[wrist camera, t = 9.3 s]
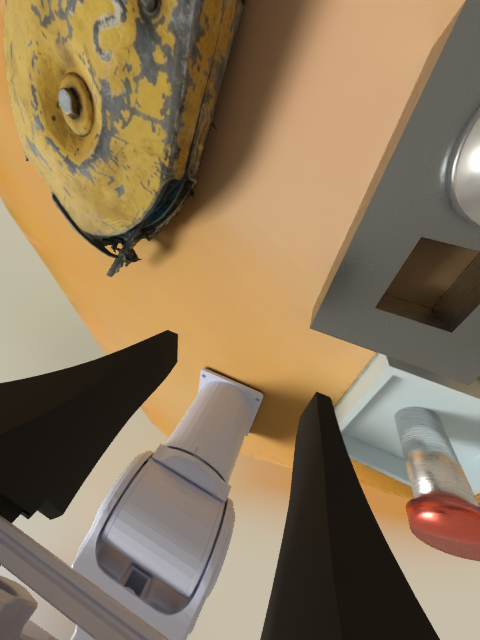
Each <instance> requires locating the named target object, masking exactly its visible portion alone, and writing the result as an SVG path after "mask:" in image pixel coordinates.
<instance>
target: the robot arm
mask: <svg viewBox="0 0 480 640" xmlns="http://www.w3.org/2000/svg"><path fill="white" fill-rule="evenodd" d="M177 350H178V334H176V333H174V332H171V331H169V330H167V331H164V332H162V333H160V334H157V335H155V336H153V337H151V338H148V339H146V340H144V341H141V342H139V343H137V344H134V345H132V346H130V347H127V348H125V349H122V350H120V351H117V352H115V353H112V354H109V355H107V356H104V357H102V358H99V359H96V360H93V361H90V362H87V363H83V364H80V365H77V366H74V367H70V368H67V369H63V370H59V371H55V372H51V373H47V374H43V375H39V376H35V377H30V378H26V379H21V380H15V381H11V382H5V383H0V566H1V565H2V566H3V567H4V568H6V569H7V570H8V571H10V572H11V573H12V574H13V575H15V576H16V577H17V578H18V579H20V580H21V581H22V582H24V583H25V584H26V585H27V586H29V587H30V588H31V589H32V590H33V591H35V592H36V593H37V594H38V595H40V596H41V597H42V598H43V599H45V600H46V601H47V602H49V603H50V604H51V605H52V606H54V607H55V608H56V609H57V610H59V611H60V612H61V613H62V614H64V615H65V616H66V617H68V618H69V619H70V620H71V621H73V622H74V623H75V624H76V628H75V632H74V634H73V635H72V637H71V639H70V640H186V638H187V636H188V634H190V633H191V632H192V630H193V628H194V626H195V623H196V621H197V618H198V616H199V613H200V611H201V609H202V606H203V604H204V602H205V600H206V599H207V597H208V596H209V595H210V593H211V591H212V589H213V587H214V585H215V583H216V581H217V578H218V576H219V573H220V571H221V568H222V565H223V562H224V560H225V557H226V553H227V550H228V547H229V544H230V540H231V536H232V532H233V527H234V521H235V512H234V508H233V502H232V500H230V499H229V498H227V497H228V494H229V491H230V488H231V486H230V485H228V482H229V479H230V476H231V473H232V471H233V468H234V465H235V462H236V459H237V457H238V454H239V451H240V448H241V446H242V443H243V440H244V437H245V436H247V435H248V433H249V431H250V428H251V426H252V423H253V421H254V418H255V416H256V414H257V411H258V409H259V406H260V404H261V402H262V399H263V394H262V393H261V392H259V391H256V390H254V389H252V388H249V387H247V386H245V385H243V384H240V383H238V382H236V381H233V380H231V379H229V378H227V377H224V376H222V375H220V374H217V373H215V372H213V371H211V370H208V369H206V368H203V369H202V370H201V374H200V383H199V392H198V395H197V396H196V398H195V399H194V401H193V402H192V404H191V405H190V407H189V408H188V410H187V411H186V413H185V414H184V416H183V417H182V419H181V420H180V422H179V423H178V425H177V426H176V428H175V430H174V431H173V433H172V434H171V436H170V437H169V439H168V440H167V442H166V443H165V445H162V444H160V445H159V447H158V448H157V450H156V451H155V453H154V452H152V451H147V452H145V453H143V454H140V455H138V456H137V457H136V458H135V459H134V460H133V461H132V462H131V463H130V464H129V465H128V466H127V467H126V469H125V470H124V471H123V472H122V474H121V475H120V476H119V478H118V479H117V481H116V482H115V483H114V485H113V486H112V488H111V489H110V491H109V492H108V494H107V496H106V497H105V499H104V500H103V502H102V504H101V506H100V507H99V509H98V511H97V514H96V516H95V518H94V522H93V524H92V526H91V528H90V530H89V532H88V533H87V535H86V537H85V539H84V540H83V542H82V544H81V546H80V547H79V549H78V551H77V557H76V559H75V560H74V562H73V563H72V567H70V566H69V565H67V564H66V563H64V562H63V561H62V560H61V559H59V558H58V557H56V556H55V555H54V554H52V553H51V552H50V551H48V550H47V549H45V548H44V547H43V546H41V545H40V544H39V543H37V542H36V541H34V540H33V539H32V538H31V537H29V536H28V535H26V534H25V533H24V532H22V531H21V530H20V529H18V528H17V527H16V526H14V525H13V524H11V523H12V522H13V521H14V520H15V519H16V518H17V517H18V516H19V515H20V514H21V515H23V516H24V517H26V518H27V519H29V518H30V517H31V516H32V515H33V514H34V513H35V512H36V511H39V512H40V513H42V514H43V515H45V516H46V517H47V518H49V519H50V520H51V519H54V518H57V517H59V516H61V515H63V514H64V512H65V510H66V509H67V507H68V506H69V504H70V503H71V501H72V499H73V498H74V496H75V494H76V493H77V492H78V490H79V489H80V487H81V486H82V484H83V482H84V481H85V479H86V478H87V477H88V475H89V474H90V472H91V471H92V469H93V468H94V466H95V465H96V463H97V462H98V460H99V459H100V458H101V456H102V455H103V453H104V452H105V451H106V449H107V448H108V447H109V445H110V444H111V442H112V441H113V439H114V438H115V437H116V436H117V434H118V433H119V431H120V430H121V429H122V428H123V426H124V425H125V424H126V422H127V421H128V420H129V419H130V417H131V416H132V415H133V414H134V413H135V412H136V410H137V409H138V408H139V407H140V406H141V405H142V404H143V403H144V402H145V401H146V400H147V398H148V397H149V396H150V395H151V394H152V393H153V392H154V391H155V390H156V389H157V387H158V386H159V385H160V384H161V383H162V382H163V381H164V380H165V378H166V377H167V376H168V374H169V373H170V372H171V370H172V369H173V367H174V366H175V364H176V363H177ZM37 604H38V603H37V602H36V600H35V599H34V598H33V597H32V595H31V594H30V593H29V592H28V591H27V590H26V589H25V588H24V587H23V586H21V585H20V584H18V583H17V582H14V581H12V580H10V579H7V578H5V577H2V576H0V640H58V639H56V638H55V637H53V636H52V635H50V634H49V633H48V632H46V631H45V630H43V629H42V628H40V627H39V626H37V625H36V624H35V623H33V622H32V621H30V620H29V618H30V617H31V615H32V614H33V613H34V611H35V610H36V608H37ZM260 640H440V639H439V637H438V635H437V634H436V632H435V630H434V629H433V627H432V625H431V623H430V622H429V620H428V618H427V616H426V614H425V613H424V611H423V609H422V607H421V606H420V604H419V602H418V600H417V599H416V597H415V595H414V593H413V591H412V589H411V587H410V586H409V584H408V582H407V580H406V578H405V576H404V574H403V572H402V570H401V569H400V567H399V565H398V563H397V561H396V559H395V557H394V555H393V554H392V552H391V550H390V548H389V546H388V544H387V542H386V540H385V538H384V536H383V534H382V532H381V530H380V528H379V525H378V524H377V521H376V519H375V517H374V515H373V513H372V511H371V508H370V506H369V504H368V502H367V500H366V497H365V495H364V493H363V490H362V488H361V485H360V483H359V481H358V478H357V476H356V473H355V471H354V468H353V465H352V463H351V460H350V457H349V455H348V452H347V449H346V446H345V443H344V440H343V437H342V434H341V431H340V428H339V425H338V421H337V418H336V415H335V411H334V408H333V404H332V400H331V398H330V397H328V396H326V395H323V394H321V393H318V392H316V393H315V395H314V396H313V398H312V400H311V401H310V403H309V404H308V406H307V407H306V409H305V411H304V412H303V414H302V415H301V417H300V422H299V426H298V431H297V436H296V443H295V452H294V462H293V472H292V483H291V493H290V500H289V507H288V512H287V518H286V523H285V529H284V534H283V539H282V544H281V549H280V554H279V559H278V564H277V569H276V573H275V578H274V583H273V587H272V591H271V596H270V600H269V605H268V609H267V613H266V618H265V622H264V626H263V631H262V635H261V639H260Z"/></svg>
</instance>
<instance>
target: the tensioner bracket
mask: <svg viewBox="0 0 480 640" xmlns="http://www.w3.org/2000/svg"><path fill="white" fill-rule="evenodd" d="M421 237H424V238H428V239H432V240H436V241H440V242H444V243H448V244H452V245H456V246H460V247H464V248H468V249H472V250H476V251H480V0H466V1H465V2H464V4H463V5H462V6H461V8H460V9H459V11H458V12H457V14H456V15H455V16H454V18H453V19H452V21H451V22H450V23H449V25H448V26H447V28H446V29H445V31H444V32H443V33H442V35H441V36H440V38H439V39H438V40H437V42H436V43H435V45H434V46H433V48H432V50H431V52H430V54H429V57H428V59H427V61H426V63H425V65H424V67H423V70H422V72H421V74H420V76H419V78H418V81H417V83H416V85H415V87H414V89H413V92H412V94H411V96H410V98H409V100H408V102H407V105H406V107H405V109H404V111H403V113H402V116H401V118H400V120H399V122H398V124H397V127H396V129H395V131H394V133H393V135H392V137H391V140H390V142H389V144H388V146H387V148H386V151H385V153H384V155H383V157H382V159H381V161H380V164H379V166H378V168H377V170H376V172H375V175H374V177H373V179H372V181H371V183H370V186H369V188H368V190H367V192H366V194H365V196H364V199H363V201H362V203H361V205H360V207H359V210H358V212H357V214H356V216H355V218H354V221H353V223H352V225H351V227H350V229H349V231H348V234H347V236H346V238H345V240H344V242H343V245H342V247H341V249H340V251H339V253H338V256H337V258H336V260H335V262H334V264H333V266H332V269H331V271H330V273H329V275H328V277H327V280H326V282H325V284H324V286H323V288H322V291H321V293H320V295H319V297H318V299H317V301H316V304H315V306H314V308H313V312H312V318H311V324H310V329H313V330H316V331H319V332H321V333H324V334H327V335H330V336H333V337H335V338H338V339H341V340H344V341H347V342H349V343H352V344H355V345H358V346H360V347H363V348H366V349H369V350H372V351H374V352H377V353H380V354H383V355H385V356H388V357H391V358H394V359H397V360H399V361H402V362H405V363H408V364H410V365H413V366H416V367H419V368H422V369H424V370H427V371H430V372H433V373H435V374H438V375H441V376H444V377H447V378H449V379H452V380H455V381H458V382H461V383H463V384H466V385H469V384H471V383H472V382H473V381H475V380H476V379H477V378H478V377H480V253H479V254H478V255H477V256H476V258H475V259H474V260H473V261H472V262H471V263H470V265H469V266H468V267H467V268H466V269H465V271H464V272H463V273H462V274H461V275H460V276H459V278H458V279H457V280H456V281H455V282H454V284H453V285H452V286H451V287H450V288H449V290H448V291H447V292H446V293H445V294H444V295H443V297H442V298H441V299H440V300H439V301H438V303H437V304H436V305H435V306H434V307H433V308H432V309H431V308H428V307H425V306H421V305H418V304H415V303H412V302H408V301H405V300H402V299H399V298H395V297H392V296H389V295H386V294H384V293H385V291H386V290H387V288H388V287H389V285H390V284H391V282H392V281H393V279H394V278H395V276H396V275H397V273H398V272H399V270H400V269H401V267H402V265H403V264H404V262H405V261H406V259H407V258H408V256H409V255H410V253H411V252H412V250H413V249H414V247H415V246H416V244H417V243H418V241H419V240H420V238H421Z"/></svg>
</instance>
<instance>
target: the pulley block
mask: <svg viewBox="0 0 480 640" xmlns="http://www.w3.org/2000/svg"><path fill="white" fill-rule="evenodd" d="M244 4H245V0H5V10H4V22H3V23H4V57H5V66H6V75H7V81H8V87H9V93H10V100H11V106H12V110H13V114H14V118H15V122H16V126H17V130H18V134H19V137H20V140H21V143H22V147H23V150H24V153H25V156H26V161H28V160H29V161H30V162H31V163H32V165H33V166H34V168H35V169H36V170H37V172H38V173H39V175H40V176H41V177H42V179H43V180H44V182H45V183H46V184H47V186H48V187H49V189H50V190H51V193H52V199H53V201H54V203H55V205H56V206H57V207H58V209H59V210H60V211H61V212H62V214H63V215H64V217H65V218H66V219H67V221H68V222H69V224H70V225H71V226H72V228H73V229H74V230H75V231H76V232H77V233H78V234H79V235H80V236H81V237H83V238H84V239H85V240H86V241H88V242H89V243H90V244H91V245H93V246H94V247H95V248H97V249H98V250H99V251H101V252H102V253H104V254H106V255H107V256H109V257H113V258H116V259H115V261H114V263H113V264H112V266H111V268H110V269H109V271H108V273H107V276H110V277H112V276H113V275H114V274H115V273H117V272H119V268H120V267H121V268H122V266H123V263H124V262H125V266H126V267H127V266H128V265H129V264H130V263H131V262H136V261H138V260H141V259H139V258H138V256H137V254H136V253H135V251H134V249H133V247H134V246H135V245H136V244H137V243H138V242H139V241H140V240H141V239H143V238H146V239H147V240H148V241H150V240H151V239H152V238H153V237H154V236H155V235H157V234H159V233H160V231H159V230H160V229H161V227H162V226H164V225H168V222H169V220H170V219H171V218H172V217H173V216H174V215H175V214H177V216H178V212H179V210H180V209H181V207H182V206H183V205H184V203H185V202H186V201H187V200H188V198H189V196H190V195H192V197H193V198H194V197H195V194H194V191H193V188H194V187H195V185H196V183H197V173H198V170H199V167H200V163H201V156H202V153H203V150H204V146H205V143H206V140H207V136H208V133H209V129H210V126H214V125H213V112H214V109H215V105H216V101H217V98H218V94H219V90H220V87H221V83H222V80H223V76H224V72H225V69H226V65H227V61H228V58H229V54H230V51H231V47H232V43H233V40H234V37H235V34H236V31H237V28H238V25H239V22H240V19H241V15H242V11H243V7H244ZM214 128H215V126H214ZM215 129H216V128H215ZM118 243H121V244H122V247H123V248H122V249H119V248H117V245H118ZM107 245H112V246H111V248H112V249H113V251H114V252H115V253H116V251H115V250H118V251H119V254H118V255H115V254H113V253H111V252H109V251H108V250H107V249H106V248H105V247H104V246H107ZM116 248H117V249H116Z"/></svg>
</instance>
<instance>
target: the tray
mask: <svg viewBox="0 0 480 640" xmlns="http://www.w3.org/2000/svg"><path fill="white" fill-rule="evenodd" d="M406 407H422V408H426V409H429V410H431V411H433V412H435V413H436V414H437V415H438V416H439V418H440V420H441V422H442V424H443V426H444V429H445V431H446V433H447V435H448V438H449V440H450V442H451V444H452V446H453V449H454V451H455V453H456V455H457V458H458V460H459V462H460V464H461V466H462V469H463V471H464V473H465V475H466V478H467V480H468V482H469V484H470V486H471V489H472V491H473V493H474V495H476V494H479V493H480V379H478V378H477V379H476V380H475V381H473V382H472V383H471V384H469V385H466V384H463V383H461V382H458V381H455V380H452V379H449V378H447V377H444V376H441V375H438V374H435V373H433V372H430V371H427V370H424V369H422V368H419V367H416V366H413V365H410V364H408V363H405V362H402V361H399V360H397V359H394V358H391V357H388V356H385V355H383V354H380V353H376V354H375V355H374V357H373V358H372V359H371V361H370V362H369V363H368V365H367V366H366V367H365V368H364V370H363V371H362V372H361V374H360V375H359V376H358V377H357V379H356V380H355V381H354V383H353V384H352V385H351V386H350V388H349V389H348V390H347V392H346V393H345V394H344V396H343V397H342V398H341V399H340V401H339V402H338V403H337V405H336V406H335V407H334V411H335V415H336V418H337V421H338V425H339V428H340V431H341V434H342V437H343V440H344V443H345V446H346V449H347V452H348V455H349V457H350V459H352V460H354V461H356V462H359V463H361V464H363V465H365V466H367V467H369V468H372V469H374V470H376V471H378V472H380V473H382V474H385V475H387V476H389V477H391V478H393V479H396V480H398V481H400V482H402V483H404V484H406V485H409V486H411V484H410V480H409V476H408V472H407V468H406V464H405V460H404V456H403V452H402V448H401V444H400V440H399V436H398V432H397V428H396V424H395V420H394V415H395V413H396V412H397V411H398V410H400V409H402V408H406Z"/></svg>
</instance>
